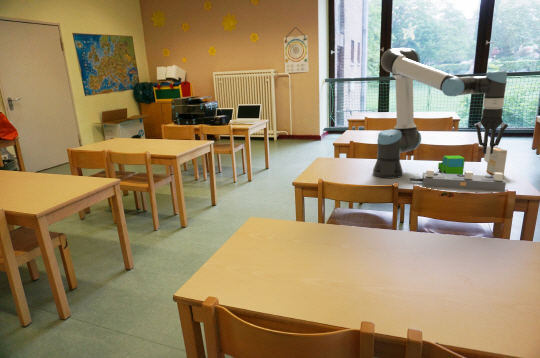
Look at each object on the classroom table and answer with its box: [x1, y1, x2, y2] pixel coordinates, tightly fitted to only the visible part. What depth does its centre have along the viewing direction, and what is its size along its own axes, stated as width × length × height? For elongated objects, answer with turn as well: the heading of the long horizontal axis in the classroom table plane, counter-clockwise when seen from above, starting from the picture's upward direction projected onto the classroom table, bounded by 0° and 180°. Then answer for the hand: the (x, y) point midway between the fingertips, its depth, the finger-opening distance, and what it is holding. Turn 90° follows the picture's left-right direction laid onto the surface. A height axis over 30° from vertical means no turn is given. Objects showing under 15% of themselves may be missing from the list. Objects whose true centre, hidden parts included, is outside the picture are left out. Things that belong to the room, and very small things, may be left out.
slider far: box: [492, 172, 504, 181], centre depth 166 cm, size 3×3×3 cm
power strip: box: [409, 172, 507, 192], centre depth 174 cm, size 40×10×4 cm, turn 70°
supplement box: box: [486, 146, 508, 176], centre depth 189 cm, size 8×5×13 cm, turn 179°
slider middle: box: [463, 170, 474, 179], centre depth 169 cm, size 3×3×3 cm
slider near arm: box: [425, 168, 435, 177], centre depth 175 cm, size 3×3×3 cm
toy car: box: [437, 155, 466, 175], centre depth 192 cm, size 10×13×10 cm
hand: (486, 160), depth 165 cm, fingers closed
